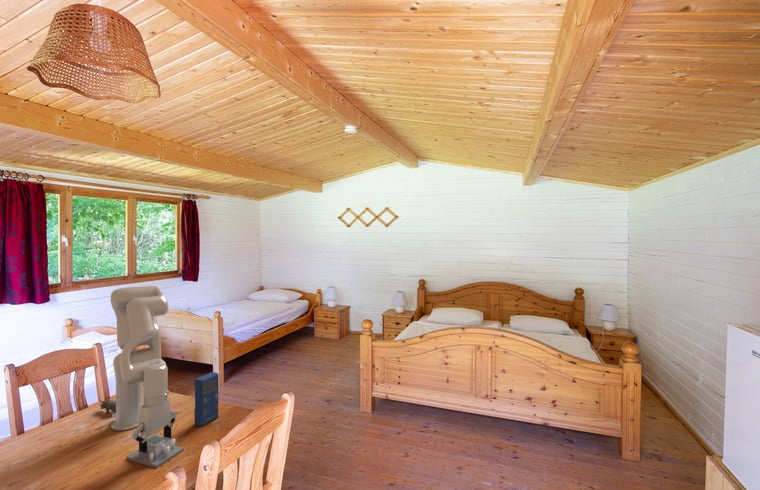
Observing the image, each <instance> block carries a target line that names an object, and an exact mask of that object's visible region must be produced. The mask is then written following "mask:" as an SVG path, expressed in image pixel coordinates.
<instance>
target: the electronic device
mask: <svg viewBox="0 0 760 490" xmlns="http://www.w3.org/2000/svg"><path fill="white" fill-rule="evenodd" d="M219 375H220V374H219V372H215V371H214V372H213V371H211V372H209V373H207V374H204V375H201V376H200V377H197V378H195V379H194V414H193V415H194V421H193V422H194V425H195V426H198V427H202V426H205V425H206V424H209V423H210V422H212V421H214V420H215V419H216V418H218V417H219Z"/></svg>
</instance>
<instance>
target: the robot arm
mask: <svg viewBox="0 0 760 490" xmlns="http://www.w3.org/2000/svg"><path fill="white" fill-rule="evenodd" d="M109 299H110V304H111V307H112V310H113V313H114V315H115V318H116V340H117V341H116V342H117V345H118V347H119V348H120V349H122V351H121V352H120V353H118V354H117V355H115V357H114V358H113V363H112V366H113V372H114V378H115V401H116V414H113V413H112V414H113V415H112V414H111V415H112V417H113V418H114V421H113V422H111V429H112V430H113V431H127V430H132V429H135V428H136V429H135V430H134V431H133V432H132V433H131V437H132V438H133V439H134V441H137V442H138V448H139V451H140V452H142V453H146V452H147V441H146V439H147V438H148V437H150V436H149V435H153V434H155V432H157V431H159V430H161V429H163V436H165V437H168V438H170V439H172V428H173V426H174V423H175V422H176V418H177V414H178V411H177V412H176V411H171V403H170V399H169V398H168V396H169V394H170V390H169V389H168V386H169V385H168V383H169V381H168V371H169V369H168V365H167V364H166V362H165V361H164V360H163V359H162V341H161V340H162V338H161V337H162V336H161V329H160V326H159V324H158V323H155V319H154V317H161V316H164V315H167V313H168V311H169V303H168V299H167V296H166V295H165V294H164V293H163V292H162V290H161V288H159V287H158V286H157V285H145V286H127V287H121V288H116V289H114V290H113V291H112V292H111V293H110V298H109ZM141 346H147V347H142V348H137V347H141ZM134 348H137V349H134Z"/></svg>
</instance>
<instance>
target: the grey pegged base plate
mask: <svg viewBox="0 0 760 490" xmlns="http://www.w3.org/2000/svg"><path fill="white" fill-rule="evenodd" d="M184 450H185V448H184V447H181V446H177V445H176V438H171V451H170V452H169V446H167V447H166V454H165V455H163V456H161V457H159V458H158V459H156V460H155V459H154V452H150V457H147V456H145V455H143V454H140V451H139V447H137V448H135V451H134V452H132V453H131V454H128V455H127V456H126V460H128V461H132V462H134V463H138V464H141V465H144V466H148V467H152V468H156V469H157V468H159V467H161V466H163V465H164V464H165V463H167V462H168V461H170V460H172V459H173V458H175V457H176V456H177V455H179V454H181V453H182V452H184Z"/></svg>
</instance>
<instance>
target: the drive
mask: <svg viewBox="0 0 760 490" xmlns="http://www.w3.org/2000/svg"><path fill="white" fill-rule="evenodd" d="M171 440H172V438H168V437H165V436H164V435H162V434H159V433H153V434H151V435H150V436H148V438H147V439H146V441H147V452H146V453H142V452H140V454H143V455H145V456H147V457H150V452H154V459H155V460H156V459H158V458H159V457H161V456H163V455H165V454H166V447H167V446H169V452H170V451H171Z"/></svg>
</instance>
